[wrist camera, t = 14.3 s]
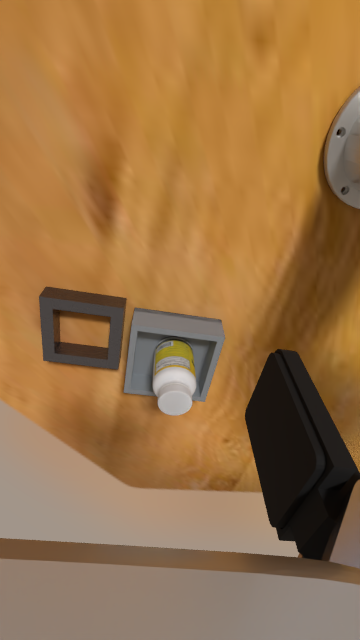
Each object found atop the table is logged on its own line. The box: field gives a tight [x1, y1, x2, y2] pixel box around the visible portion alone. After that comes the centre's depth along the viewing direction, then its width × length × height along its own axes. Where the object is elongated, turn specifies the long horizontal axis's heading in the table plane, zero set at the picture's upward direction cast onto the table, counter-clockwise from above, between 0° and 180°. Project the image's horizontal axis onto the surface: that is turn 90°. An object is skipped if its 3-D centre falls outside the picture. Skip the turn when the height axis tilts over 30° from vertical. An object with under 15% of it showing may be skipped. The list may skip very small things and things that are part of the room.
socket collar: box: [39, 287, 127, 369], centre depth 42 cm, size 10×10×2 cm
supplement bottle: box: [153, 337, 196, 415], centre depth 41 cm, size 5×5×10 cm
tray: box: [124, 308, 225, 402], centre depth 44 cm, size 12×12×4 cm
